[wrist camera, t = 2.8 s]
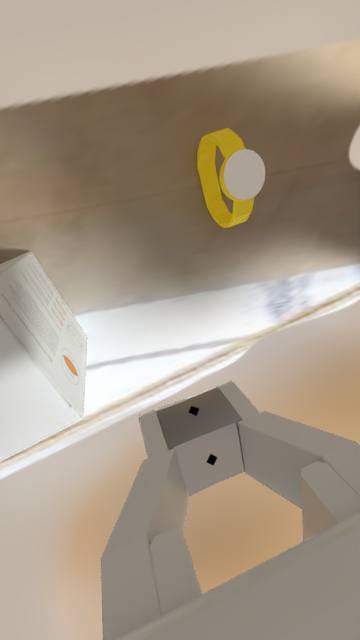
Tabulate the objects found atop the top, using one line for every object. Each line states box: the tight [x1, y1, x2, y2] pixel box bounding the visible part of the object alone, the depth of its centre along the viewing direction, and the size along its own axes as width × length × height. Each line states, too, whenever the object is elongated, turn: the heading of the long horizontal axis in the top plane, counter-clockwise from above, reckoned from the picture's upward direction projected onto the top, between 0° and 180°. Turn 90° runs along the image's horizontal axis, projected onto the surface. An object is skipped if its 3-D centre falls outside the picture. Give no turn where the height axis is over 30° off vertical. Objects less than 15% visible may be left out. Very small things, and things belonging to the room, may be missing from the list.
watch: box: [197, 128, 265, 228], centre depth 19 cm, size 6×3×6 cm, turn 17°
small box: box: [0, 251, 87, 462], centre depth 17 cm, size 8×6×10 cm
